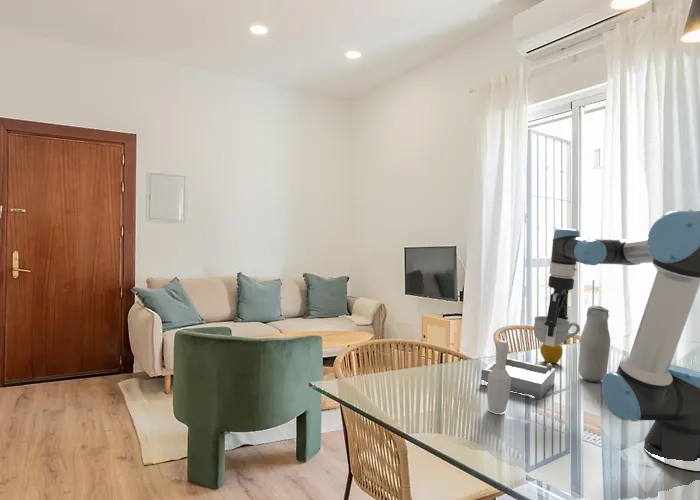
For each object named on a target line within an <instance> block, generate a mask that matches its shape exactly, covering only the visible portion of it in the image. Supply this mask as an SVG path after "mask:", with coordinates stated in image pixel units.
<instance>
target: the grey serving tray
mask: <svg viewBox="0 0 700 500" xmlns="http://www.w3.org/2000/svg"><path fill="white" fill-rule="evenodd" d="M495 364H496V359H494V360H493V361H492V362H490V363H489V364H487V365H486V366H485V367H483V368H482V369H481V373H480V374H481V375H480V376H481V377H480V381H481V380H484V381H486V382H488V374H489V373H490V372H491V371H492V370H493V369H494V368H495ZM552 366H553V364H551V363H548V362H546V366H545V365H540V364H536V363H532V362H528V361H522V360H519V359H516V358H515V359H514V358H509V357H507V359H506V370H507V372H508V374H509V375H510V377H511V386H510V391H513V392H517V393H522V394H529V395H532V396H534V397H535V398H537V399H536V400H538V401H540V400H541V399H542V398H544V396H545V394H547V392H548V391H549V390H550V389H551V388H552V386H553V385H554V384H555V378H556V377H555V376H556V368H555V367H552Z"/></svg>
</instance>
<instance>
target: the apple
mask: <svg viewBox="0 0 700 500" xmlns="http://www.w3.org/2000/svg"><path fill="white" fill-rule="evenodd" d="M540 354H541V356H542V358H543V359H544V361H545V362H546V363H548V362H549V363H556V364H557V363H559V362H560V360H561V358H562V357H563V346H562V344H559V345H555V346H554V347H552V346H547V345H545V343H542V344H541V346H540Z"/></svg>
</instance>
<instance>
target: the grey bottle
mask: <svg viewBox="0 0 700 500" xmlns="http://www.w3.org/2000/svg"><path fill="white" fill-rule="evenodd" d="M609 311H610V310H609V309H607V308H606V307H603V306H600V305H591V306H589V307H588V308H587V311H586V321H585V324H584V326H583V329H582V331H581V335H580V342H579V355H578V356H579V357H578V373H579V376H580V377H581V378H583V379H585V380H587V381H589V382H602V380H603V378H604V376H605V375H606V374H608V366H609V359H610V358H609V357H610V350H611V337H610V335H611V334H610V331H609V323H608V322H609V321H608V320H609V317H610V315H609Z"/></svg>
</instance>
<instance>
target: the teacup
mask: <svg viewBox="0 0 700 500" xmlns="http://www.w3.org/2000/svg"><path fill="white" fill-rule="evenodd" d="M533 319H534V322H533V323H534V325H533V328H534V329H533V334H534V337H535V338H536V339H537V340H538V341H539V342H540V343H542V344H543V343H545V341H546V333H547V325H545V323H546V320H547V315H545V316H540V315H539V316H535V317H534V318H533ZM550 322H552V321H550ZM573 326H575V328H576V330H575V331H573V332H571V333H569V330H571V329H570V328H571V327H573ZM556 327H557V329H556V338H555V345H559V344H560V345H562V343H564V342H566V341H567V340H569V339H570V338H572V337H574V336H576V335H578V334H579V333H580V331H581V327H580V325H579V324H578V323H577V322H570V320H569V319H568V320H565V319H561V318H558V319H557V323H556Z"/></svg>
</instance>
